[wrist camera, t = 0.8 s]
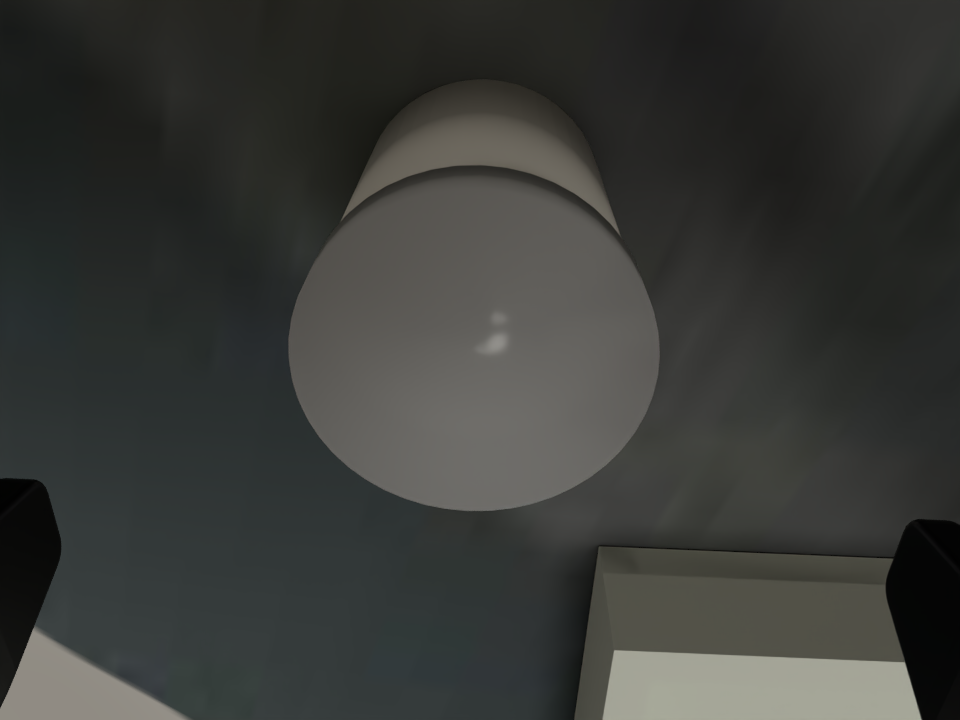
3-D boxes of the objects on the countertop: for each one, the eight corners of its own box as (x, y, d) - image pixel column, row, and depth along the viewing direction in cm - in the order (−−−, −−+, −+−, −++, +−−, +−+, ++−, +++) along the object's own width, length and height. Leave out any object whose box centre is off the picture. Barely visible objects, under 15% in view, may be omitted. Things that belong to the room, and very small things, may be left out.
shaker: (619, 79, 17) (687, 198, 11) (591, 314, 19) (634, 517, 13) (355, 68, 17) (273, 180, 11) (364, 305, 19) (301, 503, 13)
